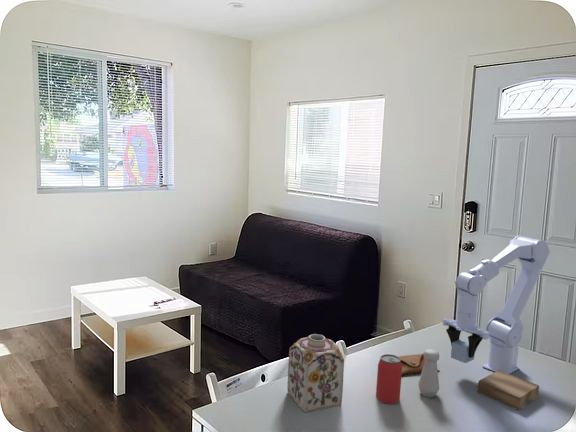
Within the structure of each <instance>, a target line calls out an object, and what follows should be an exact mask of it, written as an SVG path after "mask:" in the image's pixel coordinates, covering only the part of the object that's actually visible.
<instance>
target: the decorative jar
mask: <svg viewBox="0 0 576 432" xmlns="http://www.w3.org/2000/svg"><path fill="white" fill-rule="evenodd" d="M287 365H288V367H287V386H286V387H287V393H288V394H289V395H290V397H291V399H292V400H293V401H294V402H295V403H296V404H297V405H298V406H299V408H300V409H301V410H302V411H303V412H304V413H307V412H311V411H316V410H323V409H328V408H333V407H338V406H342V403H343V393H344V391H343V390H344V376H345V375H344V373H345V372H344V371H345V358H344V356H343V354H342V351H341V350H340V347H339V345H338V344H337V343H335V342H334V340H332V339H329V338H326V337H325V336H324V335H323V334H317V333H313V334H310V335H308V336H306V337H302V338H300V339H298V340H297V341H296V342H294V343H293V344H292V345H291V346H290V347H289V349H288V364H287Z"/></svg>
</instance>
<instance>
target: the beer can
mask: <svg viewBox="0 0 576 432" xmlns="http://www.w3.org/2000/svg"><path fill="white" fill-rule="evenodd" d="M379 358H380V359H379V361H378V364H377V373H376V376H377V377H376V386H375V387H376V388H375V397H376V398H377V400H378V401H379V402H381V403H383V404H388V405H393V404H396V403H399V401H400V399H401V388H402V387H401V385H402V377H403V376H402V364H401V359H400V358H399V356H397V355H395V354H388V353H387V354H382V355H381V356H380V357H379Z"/></svg>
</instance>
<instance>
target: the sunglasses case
mask: <svg viewBox="0 0 576 432" xmlns="http://www.w3.org/2000/svg"><path fill="white" fill-rule="evenodd" d="M398 357H399V358H400V359H401V364H402V376H401V377H405V375H407V376H412V375H411V374H413V375H420V374H419V373H422V370H423V366H424V363H425V358H424V352H423V353H420V354H409V355H401V356H398ZM437 370H438V373H439V372H440V370H439V368H437Z"/></svg>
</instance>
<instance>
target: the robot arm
mask: <svg viewBox="0 0 576 432" xmlns="http://www.w3.org/2000/svg"><path fill="white" fill-rule="evenodd" d="M550 253H551V252H550V249H549V245H548V242H547V241H545V240H543V239H536V238H533V237H532V238H531V237H528V236H524V235H516V236H515V237H513V239H510V240H509V245H508V246H507V247H505V248H504V249H503V250H502V251H500V252H499V253H498V254H497V255H496V256H495V257H494V258H492V259H483V260H481V261H480V263H479V264H478V265H476V266H475V267H473V268H472V269H470V270H469V271H467V272H461V273H460V274H459V275H458V276H457V277H456V280H454V285H455V287H456V289H457V290H456V291H457V296H458V297H457V305H456V316H455V317H456V319H452V318H451V319H450V318H448V317H446V318H443V320H442V325H443V326H448V328H446V331H445V332H446V333H447V335H448V338H449V341H450V346H451V347H452V342H454V341H457V340H459V339H460V336H461V333H462V332H465V333H468V334H470V335H469V336H467V339H468V340H467V341H468V342H469V353H468V356H469V357H470V358H472V357H474V358H475V354H476V351H477V349H478V347H479V345H480V343H481V342H482V341H483V340H488V339H489V340H490V343H489V351H488V358H487V359H488V360H487V362H486V363H484V364H482V365H481V366H482V367H483V368H485V369H487V370H489V371H492V372H493V373H494V372H496V371H498V370H500V371H502V372H505V373H508V374H510V375H511V374H512V373H513V372H515V371H518V370H519V369H520V366H518V365H517V364H518V356H519V347H518V345H519V344H520V343H521V340H522V337H523V331H524V329H525V325H524V324H523V323H522V321H521V319H520V318H521V316H522V313H523V311H524V309H525V308H526V305H527V303H528V302H529V299H530V298H531V297H530V296H531V295H532V293H533V290H534V287H535V285H536V284H537V281H538V279H539V277H540V275H541V273H542V271H543V267H545V266H544V265H545V263H546V262H547V259H548V257H549V255H550ZM515 260H517V261H519V263H520V265H521V267H522V268H521V270H520V272H519V274H518V276H517V279H516V281H515V283H514V285H513V287H512V289H511V292H510V293H509V295H508V297H507V300H506V302H505V304H504V306H503V309H502V310H501V311H500V310H499V311H497V312H495V313H494V314H493V315H492V318H490V320H489V321H488V322H487V324H486V326H485V329H483V328H481V327H479V326H477V325H476V324H477V323H476V322H477V315H478V314H477V313H478V301H479V294H481V293H482V292H483V290H484V289H485V287H486V285H487V283H489V282H490V281H491V280H492V279H494V278H496V277H498V275H499V274H500V269H502V268H503V267H505V266H507V265H508V264H510V263H511V262H513V261H515Z"/></svg>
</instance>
